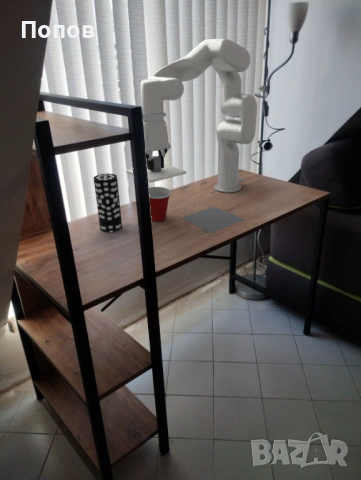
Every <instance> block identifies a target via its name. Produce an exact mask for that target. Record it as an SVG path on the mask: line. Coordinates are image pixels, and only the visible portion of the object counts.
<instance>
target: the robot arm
mask: <svg viewBox="0 0 361 480" xmlns="http://www.w3.org/2000/svg"><path fill="white" fill-rule="evenodd" d="M249 52H250V51H248V50H247V49H246V48H245V47H244V46H242V45H240V44H238V43H236V42H235V41H233V40H230V39H229V38H208V39H204V40H202V41H201V42H199V44H197V45H196V46H195V47H194V48H193V49H192V50H190V51H189V52H188V53H187V54H186V55H184V56H183V57H181V58H179V59H177V60H175V61H173V62H170V63H169V64H167V65H165V66H163V67H161V68H159V69H158V70H157V71H156V72H154V73H153V74H152V75H151V76H150V77H149V78H148V79H143V80H141V82H140V100H141V109H142V108H143V119H142V122H143V121H144V134H145V147H146V159H147V160H146V159H145V160H146V166H147V169H148V170H151V171H153V170H154V165H153V160H152V156H153V152H155V151H156V152H157V156H160V157H161V168H164V164H165V157H166V155H167V153H168V151H169V150H170V149H171V148H172V145H171V144H170V142H169V134H168V133H169V131H168V128H167V127H168V126H167V122H166V120H165V117H166V116H167V113H166V112H165V111H164V108H165V107H164V101H172V102H173V101H177V100H179V99H181V97H183V95H184V92H185V87H184V86H185V85H184V82H188V81H189V82H190V81H192V80H195V79H197V78H199V77H200V76H201V75H203V73H204V72H206V70H208V69H209V68H210V66H211V67H212V68H213V70H214V71H215V73H217V75H218V77H219V79H220V84H221V85H220V111H221V114H223V116H227V117H232V118H238V119H228V118H226V119H222V120H220V121H219V122H218V124H217V125H216V130H215V131H216V132H215V134H216V138H217V139H216V140H217V147H218V148H217V151H218V152H217V183H215V184H214V186H213V189H214V190H215V191H217V192H220V193H227V194H228V193H236V192H239V191H241V189H242V186H241V185H240V183H242V182H245V177H244V176H242V177H239V167H240V166H239V164H240V149H239V146H238V144H241V145H250V144H251V143H252V142H253V141H254V139H255V136H256V129H257V127H256V126H257V116H258V103H257V99H256V98H255V96H253V95H252V94H247V93H242V78H241V75H240V73H243V72H246V71H247V70H248V68H249V67H250V64H251V55H250V53H249ZM239 118H240V120H239Z"/></svg>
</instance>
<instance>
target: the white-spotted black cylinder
mask: <svg viewBox="0 0 361 480" xmlns="http://www.w3.org/2000/svg"><path fill="white" fill-rule="evenodd" d="M93 185H94V191H95V192H94V193H95V200H96V207H97V209H96V210H97V216H98V221H99V222H98V224H99V230H100V231H101V232H103V233H116V232H118V231H120V230H122V228H123V222H122V212H121V203H120V202H121V201H120V193H119V183H118V175H117V174H115V173H101V174H97V175H94V176H93ZM115 231H116V232H115Z"/></svg>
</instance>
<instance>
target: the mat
mask: <svg viewBox="0 0 361 480" xmlns="http://www.w3.org/2000/svg"><path fill="white" fill-rule="evenodd" d="M180 219H182V220H184V221H186V222H189V223H191V224H192V225H195V226H197V227H198V228H201V229H203V230H205V231H207V232H208V233H215V232H218V231H219V230H223V229H225V228H228V227H230V226H232V225H235V224H237V223H240V222H243V221H245V220H246V218H243V217H241V216H238V215H236V214H233V213H231V212H229V211H226V210H224V209H221V208H219V207H216V206H211V207H209V208H206V209H202V210H200V211H197V212H194V213H190V214H187V215H184V216H182V217H180Z"/></svg>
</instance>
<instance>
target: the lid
mask: <svg viewBox="0 0 361 480" xmlns="http://www.w3.org/2000/svg"><path fill="white" fill-rule="evenodd" d="M152 160H153V165H154V170H153V171H151V170H148V169H147V171H148V183H155V182H159V181H160V182H161V181H163V180H168V179H171V178H175V177H180V176H182V175H186V174H187V170H185V169H182V168H179V167H175V166H172V165H169V164H167V163H164V168H161V157H160V156H159V155H152ZM132 169H133V168H130V169H126V170H125V173H126V174H129V175H130V176H133V170H132Z"/></svg>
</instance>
